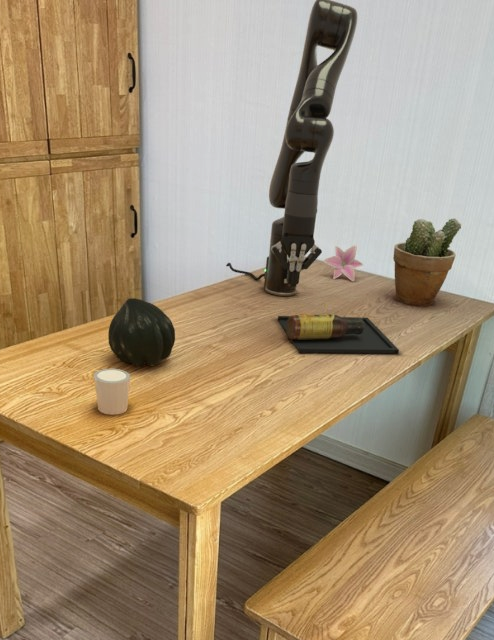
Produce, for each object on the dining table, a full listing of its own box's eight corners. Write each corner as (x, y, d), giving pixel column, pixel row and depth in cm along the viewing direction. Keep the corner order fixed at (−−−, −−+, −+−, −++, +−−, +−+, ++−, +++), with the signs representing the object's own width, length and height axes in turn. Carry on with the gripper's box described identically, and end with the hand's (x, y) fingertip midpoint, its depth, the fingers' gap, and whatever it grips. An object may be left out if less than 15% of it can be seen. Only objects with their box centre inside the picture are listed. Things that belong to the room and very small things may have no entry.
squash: (196, 335, 159) (156, 279, 155) (168, 359, 147) (124, 299, 143) (154, 364, 167) (115, 311, 163) (124, 389, 155) (81, 332, 151)
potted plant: (408, 312, 207) (427, 224, 194) (372, 292, 220) (387, 209, 207) (455, 308, 215) (476, 223, 201) (418, 289, 228) (435, 209, 215)
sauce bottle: (284, 319, 179) (352, 319, 185) (287, 343, 178) (356, 342, 185) (293, 310, 172) (364, 310, 179) (296, 334, 172) (367, 334, 179)
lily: (316, 277, 234) (323, 255, 225) (333, 257, 239) (340, 236, 231) (346, 295, 232) (354, 274, 224) (362, 275, 238) (371, 254, 229)
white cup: (96, 399, 139) (95, 367, 135) (131, 401, 140) (131, 368, 136) (92, 415, 134) (91, 381, 130) (129, 416, 134) (128, 383, 131)
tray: (299, 353, 171) (300, 348, 170) (277, 319, 190) (278, 315, 190) (398, 354, 177) (399, 349, 176) (367, 321, 196) (367, 317, 195)
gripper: (322, 210, 169) (313, 282, 178) (269, 207, 166) (263, 280, 175) (331, 217, 162) (321, 291, 172) (277, 214, 160) (269, 289, 169)
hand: (292, 285), depth 173 cm, fingers closed
